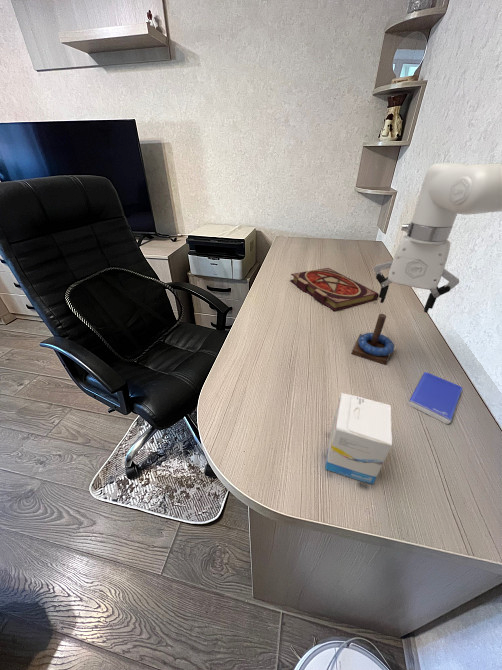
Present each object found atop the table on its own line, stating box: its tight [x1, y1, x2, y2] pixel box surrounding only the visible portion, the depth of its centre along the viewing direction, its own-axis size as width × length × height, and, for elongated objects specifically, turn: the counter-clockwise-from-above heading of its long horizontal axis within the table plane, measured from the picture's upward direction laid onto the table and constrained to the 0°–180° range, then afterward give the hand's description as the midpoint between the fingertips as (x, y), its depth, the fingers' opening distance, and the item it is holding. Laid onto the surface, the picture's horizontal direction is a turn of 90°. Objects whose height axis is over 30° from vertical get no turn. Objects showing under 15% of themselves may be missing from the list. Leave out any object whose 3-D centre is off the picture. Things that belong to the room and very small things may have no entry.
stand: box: [351, 313, 390, 366], centre depth 75 cm, size 9×9×12 cm
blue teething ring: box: [357, 332, 395, 356], centre depth 76 cm, size 9×9×2 cm
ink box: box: [324, 392, 393, 485], centre depth 48 cm, size 9×8×12 cm
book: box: [289, 267, 380, 312], centre depth 109 cm, size 28×21×5 cm
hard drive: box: [407, 371, 463, 425], centre depth 63 cm, size 2×8×12 cm
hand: (403, 305), depth 67 cm, fingers open, 9 cm apart
